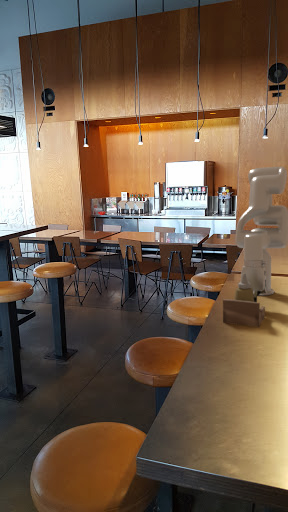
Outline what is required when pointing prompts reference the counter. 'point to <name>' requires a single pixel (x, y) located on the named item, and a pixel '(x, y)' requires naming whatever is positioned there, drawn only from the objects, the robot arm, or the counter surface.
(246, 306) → the walnut holder
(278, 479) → the counter surface
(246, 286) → the squeeze bottle
